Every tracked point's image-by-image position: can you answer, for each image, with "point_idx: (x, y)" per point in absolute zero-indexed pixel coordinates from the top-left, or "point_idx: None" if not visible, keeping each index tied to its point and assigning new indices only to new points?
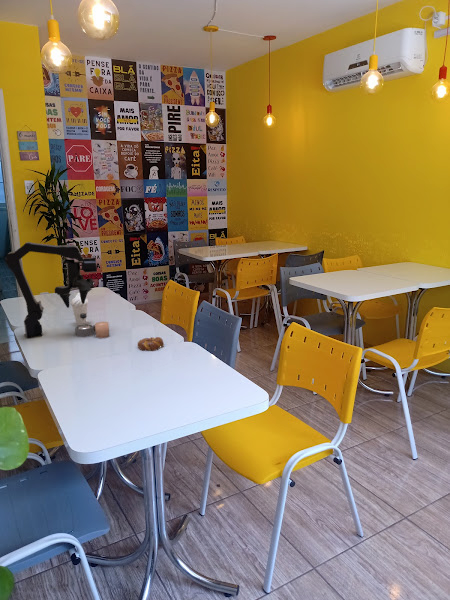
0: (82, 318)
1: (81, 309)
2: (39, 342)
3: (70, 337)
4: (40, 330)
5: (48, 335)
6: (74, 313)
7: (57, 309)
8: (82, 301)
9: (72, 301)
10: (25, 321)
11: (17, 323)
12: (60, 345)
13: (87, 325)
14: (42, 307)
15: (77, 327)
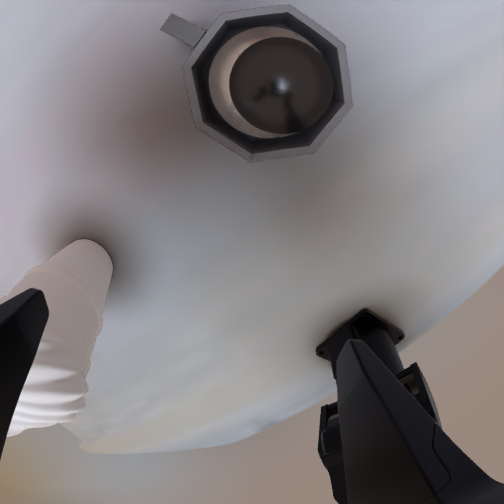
0: (80, 262)
1: (53, 308)
2: (454, 255)
3: (360, 141)
4: (360, 338)
5: (349, 289)
6: (98, 330)
7: None
8: (32, 328)
9: (72, 412)
10: (433, 399)
11: (232, 437)
12: (488, 122)
13: (209, 87)
14: (339, 461)
15: (279, 148)
